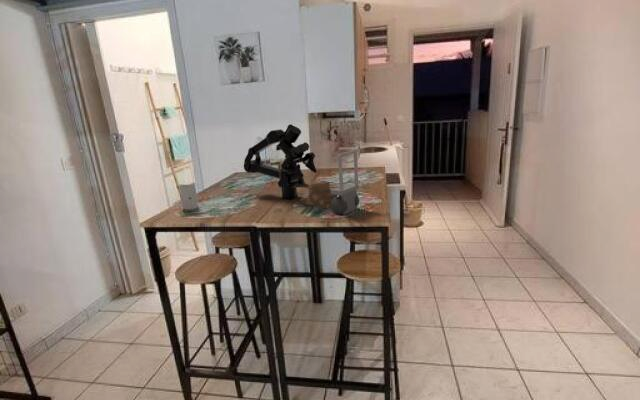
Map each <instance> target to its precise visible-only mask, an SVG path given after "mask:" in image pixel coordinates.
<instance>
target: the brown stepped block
mask: <svg viewBox="0 0 640 400" xmlns="http://www.w3.org/2000/svg"><path fill="white" fill-rule="evenodd" d="M331 190H332V189H331V188H330V181H325V180H322V181H321V180H320V181H319V182H316V183H313V184H310V185H308V196H304V197H302V198H300V199H301V204H302V205H308V206H311V205H312V206H313V207H317V208H324V209H327V210H328V209H329V210H330V209H331V201H332V199H333V198H336V197H338V195H336V194H331Z"/></svg>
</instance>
